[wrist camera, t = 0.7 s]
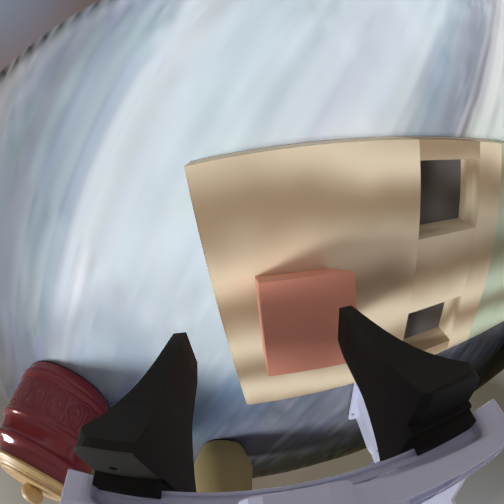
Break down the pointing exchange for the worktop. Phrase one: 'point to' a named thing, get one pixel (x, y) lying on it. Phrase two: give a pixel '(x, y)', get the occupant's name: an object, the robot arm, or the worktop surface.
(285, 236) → the board
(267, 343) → the block
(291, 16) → the worktop surface
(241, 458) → the squeeze bottle
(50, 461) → the canister
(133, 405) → the robot arm
